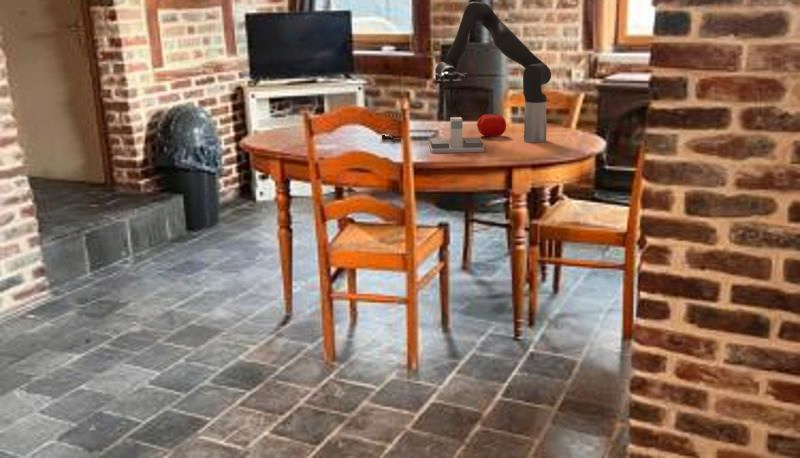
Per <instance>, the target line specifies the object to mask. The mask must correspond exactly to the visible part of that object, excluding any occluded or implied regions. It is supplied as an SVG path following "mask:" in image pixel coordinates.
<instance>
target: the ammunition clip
mask: <svg viewBox="0 0 800 458" xmlns="http://www.w3.org/2000/svg"><path fill="white" fill-rule="evenodd" d="M382 114H383V115H384V116H386V115H387V116H388V117H389V118H390V117H392V118H394V117H395V118H396V119H397V118H398V117H400V118H401V114H400V112H398V113H397V114H396V112H394V114H392V112H390V115H389V113H388V112H386V115H385V114H384V112H383V113H382ZM381 140H382V141H383V140H384V141H386V140H394V139H393V138H391V137H390V135H389V136H385V135H382V134H381Z"/></svg>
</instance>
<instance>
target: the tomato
mask: <svg viewBox="0 0 800 458" xmlns="http://www.w3.org/2000/svg"><path fill="white" fill-rule="evenodd" d="M476 127H477V130H478V132H479V133H480V134H481V135H483V136H484V137H500V136H502V135H503V134H504V133H505V132H506V130H507V122H506V119H505V118H504V117H503V115H502V114H500V113H496V114H495V113H492V112H491V113H487V114H486V113H485V114H482V115H481V116H480V117H479V118H478V120H477V123H476Z"/></svg>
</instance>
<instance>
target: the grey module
mask: <svg viewBox="0 0 800 458" xmlns="http://www.w3.org/2000/svg"><path fill="white" fill-rule="evenodd" d="M449 120H450V121H449V122H450V124H449V128H450V129H449V132H450V135H449V136H450V139H449V140H450V141H449V143H450V146H451V148H462V143H463V118H462V117H461V116H454V117H453V116H452V117H450V118H449Z"/></svg>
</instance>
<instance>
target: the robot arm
mask: <svg viewBox="0 0 800 458" xmlns="http://www.w3.org/2000/svg"><path fill="white" fill-rule="evenodd" d="M475 24H480V25H482V26H483V27H484V28H485V29H486V30H487V31H488V32H489V34H490V35H491V38H492V41H493V43H494V45H495V47H496V48H497V49H498V50H499V51H500V52H501V53H502V54H503V56H505V57H507V58H508V59H510V60H512V61H513V62H515V63H517V64H518V65H520V66H522V67H523V68H524V69H523V75H522V94H523V96H524V123H523V124H524V126H523V129H524V130H523V142H526V143H542V142H547V130H548V127H547V126H548V125H547V124H548V123H547V122H548V119H547V94H545V93H543V91H542V86H543V85H546V84H548V83H549V82H550V81H551V80H552V72H551V69H550V68H549V66H548V65H547V64H546V63H544V62H543V61H542V60H541V59H540V58H538V57H537V56H536V55H535V54H534V53H532V51H531V50H530V49H529V48H528V47H527V46H526V45H525V44H524V43H523V42H522V41H521V39H520V38H518V36H517V35H516V34H515V33H514V32H513V31H511V29H509V28H508V26H507V25H505V23H503V21H502V20H501V19H499V17H498V16H497V14H496V13H495V12H494V11H493V9H492V8H491V7H490V6H489V5H488V3H485V2H483V1H482V2H481V1H471V2H469V3H468V4H467V5H466V7H465V8H464V12H463V14H462V18H461V21H460V24H459V27H458V30H457V33H456V35H455V37H454V40H453V42H452V44H451V46H450V48H449V50H448V52H447V54H446V59H447V60H448V61H449V62H450V63H451V64H452V65H451V64H448V63H447V62H444V61H441V62H438V64H437V65H436V67H435V70H434V71H435V81H441V82H444V83H445V84H446V85H453V84H455V83H457V81H458V82H459V81H464V80H467V81H468V79H469V74H468V73H467V72H463V73H461V72H459V69H460V68H459V67H460V64H461V61H462V60H463V57H464V56H465V54H466V51H467V49H468V47H469V46H468V45H469V36H470V33H471V30H472V28H473V27H474V25H475Z"/></svg>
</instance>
